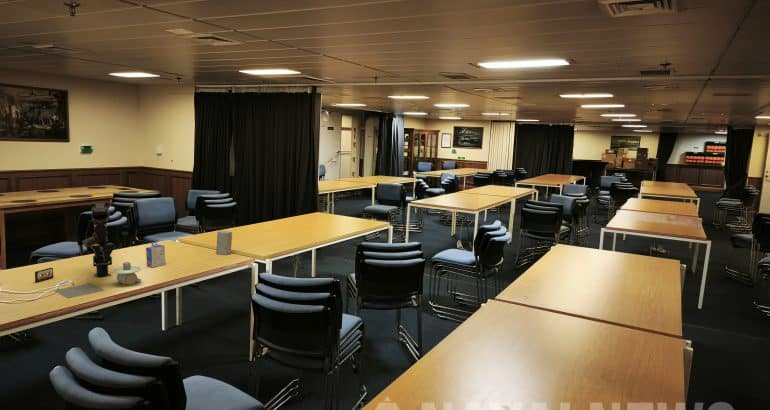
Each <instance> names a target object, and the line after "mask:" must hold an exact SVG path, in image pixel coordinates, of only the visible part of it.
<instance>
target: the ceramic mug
mask: <svg viewBox="0 0 770 410" xmlns="http://www.w3.org/2000/svg"><path fill="white" fill-rule="evenodd" d="M116 281H117V282H118V283H120V284H122V285H124V286H133V285H135V284H136V283H141V281H142V279H140V278H139V277H138V275H137V274H136V272H135V273H130V274H116Z"/></svg>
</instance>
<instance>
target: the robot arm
mask: <svg viewBox="0 0 770 410" xmlns="http://www.w3.org/2000/svg"><path fill="white" fill-rule="evenodd" d="M109 208H110V207H109V206H107V205H106V202H104V201H96V202H94V205H93V206H92V207H91V223H93V225H94V228H93V232H94V233H92V234H91V235H92V236H90V237H87V238H85V239H83V240H82V241H81V243H82V244H83V247H85V248H91V249H92V250H93V252H94V254H93V256H92V263H93V265H92V266H93V267H94V268H95V267H96V269H95V271H96V272H95V273H96V274H93V276H95V277H97V278H104V277H108V276H109V277H111V276H112V275H111V274H110V273H109V266H112V264H113V256H111V255H112V253H113V251H115V249H116V245H115V243H112V242H110V241H109V240H108V236H109V235H110V233H108V223H109V221H110V220H111V212H110V209H109Z"/></svg>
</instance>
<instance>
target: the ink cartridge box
mask: <svg viewBox="0 0 770 410" xmlns="http://www.w3.org/2000/svg"><path fill="white" fill-rule="evenodd" d="M145 253H146V254H145V255H146V268H147V267H148V268H156V267H160V266H164V265H166V246H165V245H164V244H163V245H162V244H158V243H157V242H156V241H155V242H151V246H147V247H145Z"/></svg>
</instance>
